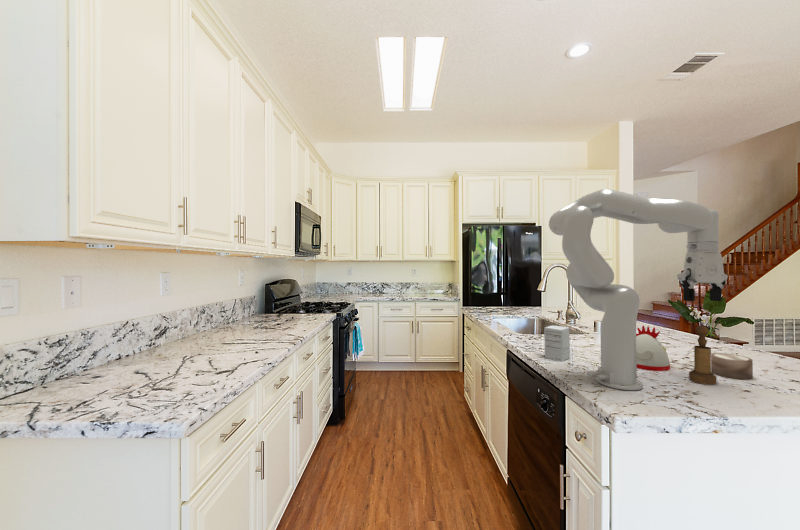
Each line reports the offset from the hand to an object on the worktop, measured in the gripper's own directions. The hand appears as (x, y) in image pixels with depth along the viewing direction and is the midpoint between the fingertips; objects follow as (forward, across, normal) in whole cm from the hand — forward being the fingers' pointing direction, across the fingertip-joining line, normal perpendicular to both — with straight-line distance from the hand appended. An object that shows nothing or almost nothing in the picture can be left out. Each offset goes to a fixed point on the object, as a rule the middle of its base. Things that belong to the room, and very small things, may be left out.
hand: (702, 300), depth 106 cm
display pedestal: (+26, +16, +4) cm, 31 cm away
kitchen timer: (+26, -3, +18) cm, 32 cm away
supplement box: (+27, -30, +32) cm, 51 cm away
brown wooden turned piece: (+26, 0, 0) cm, 26 cm away
